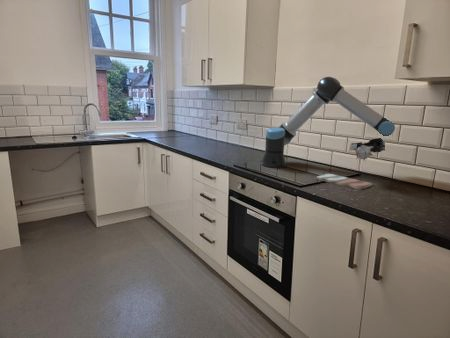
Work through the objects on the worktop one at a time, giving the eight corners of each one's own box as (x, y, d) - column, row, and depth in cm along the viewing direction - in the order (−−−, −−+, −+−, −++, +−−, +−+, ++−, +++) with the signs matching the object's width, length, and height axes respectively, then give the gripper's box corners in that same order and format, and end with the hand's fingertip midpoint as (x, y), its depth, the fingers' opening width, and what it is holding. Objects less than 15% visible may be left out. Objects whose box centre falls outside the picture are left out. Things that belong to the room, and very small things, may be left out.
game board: (315, 178, 164) (315, 176, 163) (327, 175, 172) (328, 173, 172) (360, 189, 146) (360, 187, 145) (372, 185, 154) (372, 183, 154)
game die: (358, 165, 161) (356, 149, 165) (375, 162, 156) (373, 145, 160) (352, 159, 155) (351, 142, 159) (370, 155, 150) (368, 137, 154)
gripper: (395, 154, 162) (378, 159, 147) (357, 149, 177) (338, 153, 162) (397, 140, 161) (380, 144, 146) (359, 136, 175) (340, 139, 160)
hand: (358, 149), depth 154 cm, fingers closed on game die, 8 cm apart
